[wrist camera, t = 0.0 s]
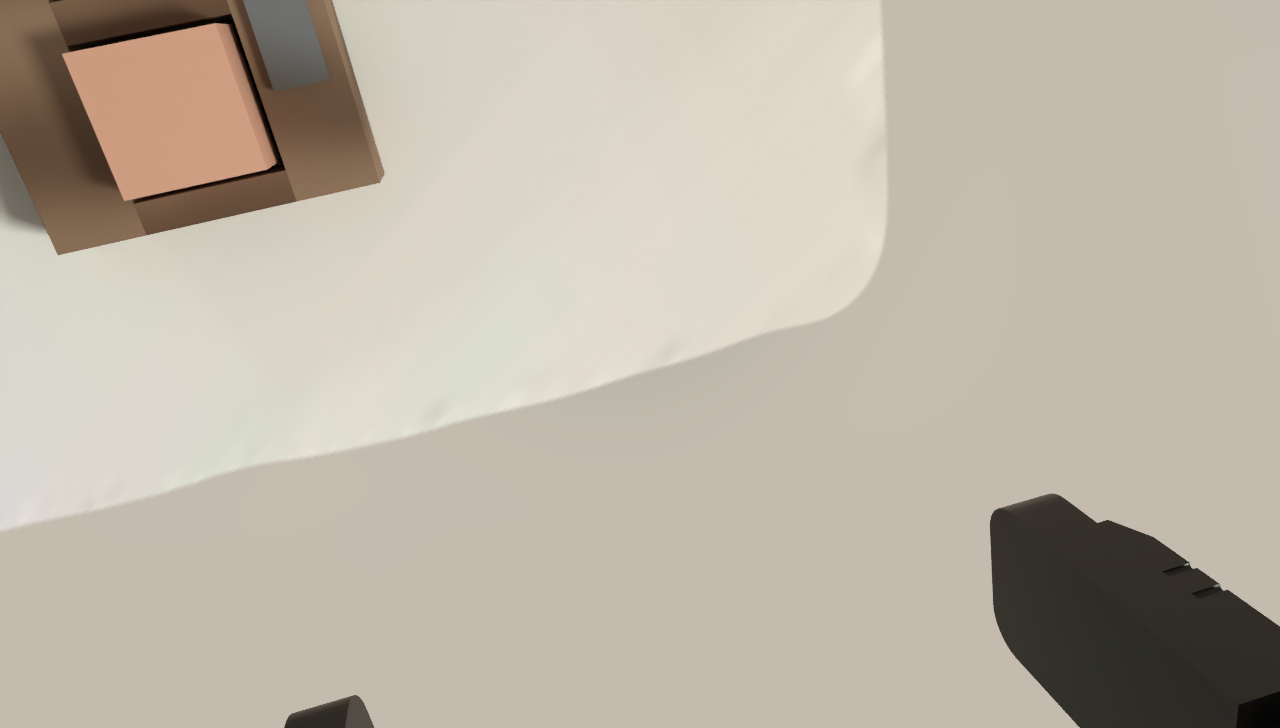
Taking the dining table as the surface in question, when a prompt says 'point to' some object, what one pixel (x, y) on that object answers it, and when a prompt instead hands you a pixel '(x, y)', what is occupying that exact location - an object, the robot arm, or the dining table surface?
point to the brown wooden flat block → (97, 214)
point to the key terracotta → (173, 109)
